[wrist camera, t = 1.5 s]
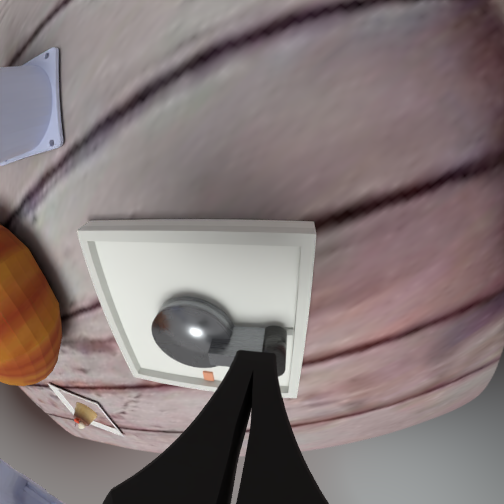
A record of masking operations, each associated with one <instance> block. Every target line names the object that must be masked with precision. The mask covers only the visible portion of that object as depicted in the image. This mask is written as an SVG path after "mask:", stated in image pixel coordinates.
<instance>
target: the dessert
mask: <svg viewBox="0 0 504 504" xmlns="http://www.w3.org/2000/svg"><path fill="white" fill-rule="evenodd" d="M48 385H49V386H50V387H51V389H52V390H53V391H54V393H55V394H56V395H57V396H58V397H59V399H60V400H61V401H62V402H63V403H64V405H65V406H66V407H67V408H68V409H69V410H70V412H71V413H72V414H73V415H74V418H75V419H74V421H75V422H76V423H78V426H79V429H84V428H85V426H88V425H90V424H91V425H93V426H96V427H98V428H101V429H104V430H106V431H109V432H112V433H115V434H117V435H120V436H123V437H124V435H123V434H122V433H121V431H120V430H119V429H118V428H117V427H116V426H115V424H114V423H113V422H112V421H111V419H110V418H109V417H108V416H107V415H106V413H105V412H104V411H103V409H102V408H101V407H100V406H99V404H98V403H97V402H94V401H91V400H89V399H86V398H84V397H81V396H78V395H76V394H73V393H71V392H69V391H66V390H64V389H61V388H59V387H57V386H55V385H52V384H48ZM58 389H59V390H61V391H64V392H66V393H68V394H71V395H73V396H76V397H78V398H81V399H83V400H86V401H88V402H91V403H94V404H96V405H97V406H98V407H99V408H100V410H101V411H102V412H103V413H104V415H105V416H106V417H107V418H108V420H109V421H110V422H111V423H112V424H113V426H114V427H115V428H116V429H114V428H111V427H108V426H105V425H103V424H100V423H97V422H95V421H93V420H94V419H95V418H97V414H96V413H95V412H94V411H93V410H92V409H90V408H89V407H87V406H86V405H84V404H82V403H79V402H77V403H76V407H75V410H74V408H73V407H72V406H71V405H70V404H69V402H68V401H67V400H66V399H65V398H64V396H63V395H62V394H61V393H60V391H59V390H58ZM76 423H75V427H76Z"/></svg>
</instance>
